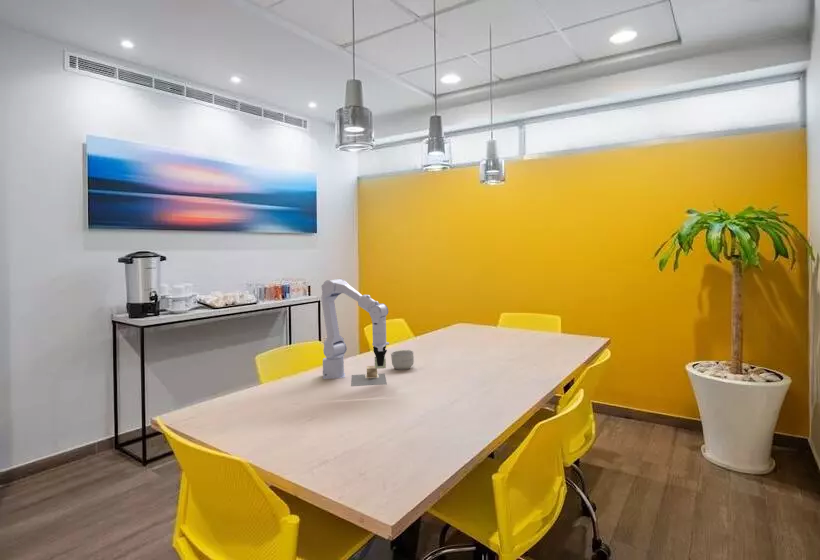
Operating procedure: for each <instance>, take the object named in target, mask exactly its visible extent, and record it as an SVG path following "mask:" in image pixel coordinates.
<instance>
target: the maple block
mask: <svg viewBox="0 0 820 560" xmlns="http://www.w3.org/2000/svg"><path fill="white" fill-rule="evenodd" d="M366 374H367V378H369V377H377V374H378V369H375V365H366Z"/></svg>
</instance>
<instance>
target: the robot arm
mask: <svg viewBox="0 0 820 560" xmlns="http://www.w3.org/2000/svg"><path fill="white" fill-rule="evenodd" d="M320 288H321V306H322V311H323V316H324V317H323V318H324V323H325V324H324V325H325V330H326V336H327V337H326V338H325V340H324V342H323V354H324V357H323V358H322V379H323V380H329V379H345V378H346V373H345V365H344V364H345V363H344V362H345V361H344V357H345V354H346V352H347V349H348V348H347V345H346V343H345V342H346V341H345V340H344V337H342V336H341V335H340V330H339V329H340V328H339V324H338V323H339V322H338V318H337V310H336V303H335V300H336V299H337V298H338V296H340V295H342V294H344V295H346V296H347V297H349V298H351V299H353V300H355V301H356V303H357V306H359V307H360V308H361V309H363V310H364V311H366V312H367V313H369V316H370V319H371V323H372V343H371V344H372V349H373V353H374V355H375V356H374V357H376V359H377V365H378V366H383V363H384V357H385V358H386V354H387V352H388V350H387V349H386V348H387V346H388V345H390V342H389V341H387V320H386V319H387V316H388V314H389V308H388V306H387V305H386V304H385V303H379V301H378V300H375V299H373V298H372V297H371V295H370V294H363V295H362V294H361V293H360V292H359V291H358V290H356V289H355V288H354V287H353V286H351V285H350V284H349V283H348V281H346V280H344V278H338V279H329V280H328V279H327V280H325V281H324V282H323V284H322V285H321V287H320Z"/></svg>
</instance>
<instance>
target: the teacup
mask: <svg viewBox="0 0 820 560" xmlns="http://www.w3.org/2000/svg"><path fill="white" fill-rule="evenodd" d="M390 357H391V364H392V366H393V368H395V369H396V370H402V371H403V370H404V371H405V370H410V369H412V366H414V363H415V359H414V358H415V356H414V351H413V350H411V349H405V350H402V349H401V350H395V351H392V352H391V353H390Z"/></svg>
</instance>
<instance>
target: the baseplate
mask: <svg viewBox="0 0 820 560" xmlns="http://www.w3.org/2000/svg"><path fill="white" fill-rule="evenodd" d="M350 379H351V380H350V386H351V387H360V386H361V387H363V386H380V385H382V386H383V385H387V384H388V382H387V377H386V374H385V373H383V372H382V373H377V377H369V378H367V373H366V374H364V373H363V374H351V378H350Z"/></svg>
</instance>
